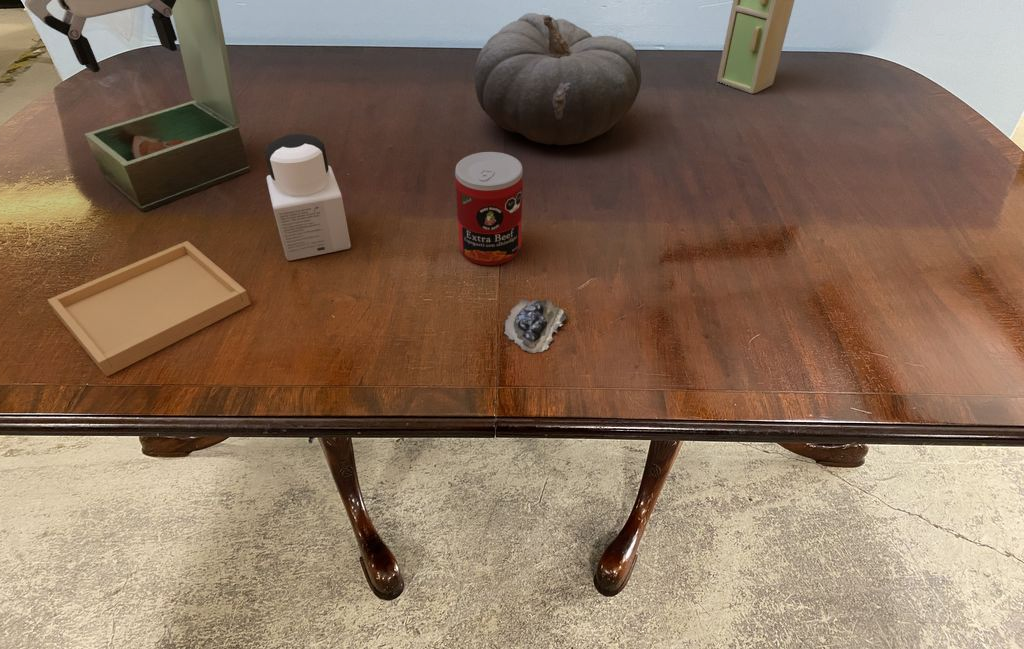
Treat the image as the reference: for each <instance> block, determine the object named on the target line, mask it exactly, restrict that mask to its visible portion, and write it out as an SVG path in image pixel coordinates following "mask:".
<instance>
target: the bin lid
mask: <svg viewBox="0 0 1024 649" xmlns="http://www.w3.org/2000/svg"><path fill="white" fill-rule="evenodd" d="M221 17H222V16H221V12H220V7H219V1H218V0H176V2H175V4H174V6H173V9H172V19H173V23H174V28H175V33H176V37H177V42H178V44H179V49H180V54H181V58H182V62H183V67H184V71H185V76H186V80H187V84H188V89H189V93H190V98H191V99H193V100H195V101H197V102H198V103H200V104H202V105H203V106H205V107H207V108H208V109H210V110H212V111H213V112H215V113H216V114H218V115H220V116H221V117H223V118H225V119H226V120H228V121H230V122H231V123H233V124H234V125H237V124H240V123H241V121H240V115H239V110H238V104H237V99H236V94H235V88H234V82H233V78H232V72H231V67H230V61H229V55H228V51H227V45H226V40H225V35H224V29H223V23H222V18H221Z"/></svg>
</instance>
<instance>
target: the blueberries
mask: <svg viewBox="0 0 1024 649" xmlns="http://www.w3.org/2000/svg"><path fill="white" fill-rule="evenodd" d="M567 316H568V315H567V313H566V312H565V310H564V309H562V308H561V307H560V306H559V307H558V306H556V304H555V303H553V302H552V300H550V299H547V298H545V299H543V300H541V299H540V298H538V299H536V298H535V299H534V300H532V301H529V300H528V299H524V298H522V299H521V300H520V299H519V300H518V303H516V304H515V305H514V307H512V308H511V309H510V314H509V315H507V319H506V320H505V321H504V330H505V331H503V334H505V335H506V336H507V337H508V339H509V340H511V341H514V344H517V346H518V347H520V349H521V350H522V351H526V353H529V354H536V353H543V352H544V351H546V350H548V349H549V348H550V346H549V345H551V343H552V341H553V340H554V338H553V334H554V333H556V334H558V327H562V326H563V325H564V323H563V322H564V321H565V320H567Z"/></svg>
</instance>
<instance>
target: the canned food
mask: <svg viewBox="0 0 1024 649" xmlns="http://www.w3.org/2000/svg"><path fill="white" fill-rule="evenodd" d="M454 176H455V177H454V178H455V197H456V198H455V199H456V200H455V201H456V215H457V230H458V233H457V234H458V246H459V249H460V252H461V254H462V256H463V257H464V258H465V259H467V260H469V261H470V262H472V263H475V264H477V265H481V266H496V265H501V264H502V265H503V264H505V263H507V262H509V261H511V260H513V259H515V257H516V256H517V255H518V253H519V251H520V248H521V246H522V229H523V228H522V226H523V225H522V224H523V192H524V191H523V189H524V179H523V177H524V173H523V164H522V163H521V161H520V160H519V159H517V158H516V157H515V156H513V155H510V154H507V153H504V152H500V151H499V152H498V151H483V152H482V151H481V152H477V153H472V154H470V155H467V156H465V157H463V158H461V159H460V160H459V161H458V162H457V163H456V166H455V173H454Z"/></svg>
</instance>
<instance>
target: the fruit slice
mask: <svg viewBox="0 0 1024 649" xmlns="http://www.w3.org/2000/svg"><path fill="white" fill-rule="evenodd" d="M184 142H187V141H186V140H169V141H164V140H160V139H158V137H157V138H151V137H145V136H134V139H133V144H132V152H133V154H134V158H135V159H137V158H140V157H143V156H146V155H149V154H152V153H155V152H158V151H161V150H164V149H167V148H169V147H172V146H175V145H178V144H181V143H184Z"/></svg>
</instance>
